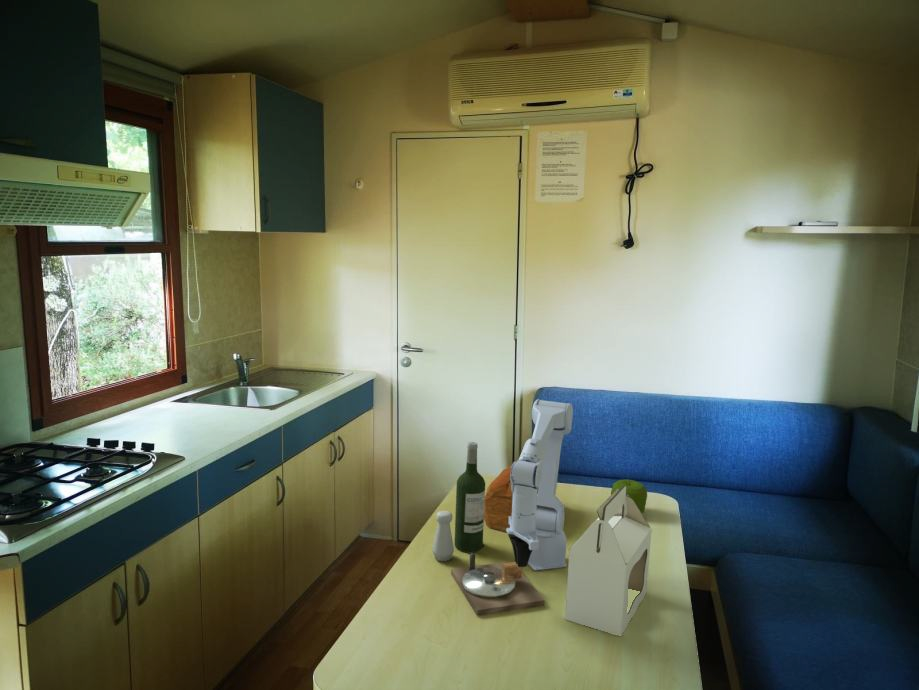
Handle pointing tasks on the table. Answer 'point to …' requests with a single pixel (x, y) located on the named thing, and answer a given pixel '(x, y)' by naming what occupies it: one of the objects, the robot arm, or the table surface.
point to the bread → (499, 502)
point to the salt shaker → (443, 537)
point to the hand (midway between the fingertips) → (521, 564)
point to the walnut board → (516, 600)
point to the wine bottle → (470, 505)
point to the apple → (633, 492)
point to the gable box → (609, 566)
